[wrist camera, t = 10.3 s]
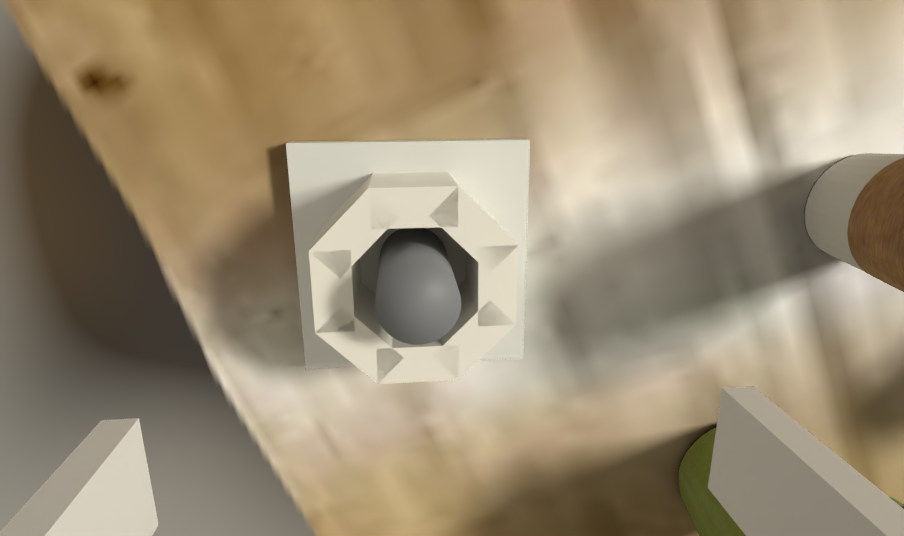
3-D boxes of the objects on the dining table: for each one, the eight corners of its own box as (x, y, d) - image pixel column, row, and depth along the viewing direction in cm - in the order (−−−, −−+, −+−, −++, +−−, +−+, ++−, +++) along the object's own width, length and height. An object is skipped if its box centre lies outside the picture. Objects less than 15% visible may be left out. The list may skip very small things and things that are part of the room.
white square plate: (289, 141, 29) (251, 157, 21) (525, 138, 30) (570, 152, 22) (308, 360, 32) (280, 442, 25) (519, 351, 33) (556, 426, 26)
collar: (319, 173, 28) (303, 188, 24) (499, 170, 29) (519, 184, 24) (331, 342, 31) (319, 386, 26) (496, 335, 32) (514, 377, 27)
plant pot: (622, 541, 38) (713, 717, 27) (666, 378, 35) (788, 504, 24) (786, 549, 39) (934, 718, 29) (842, 394, 36) (1031, 518, 25)
